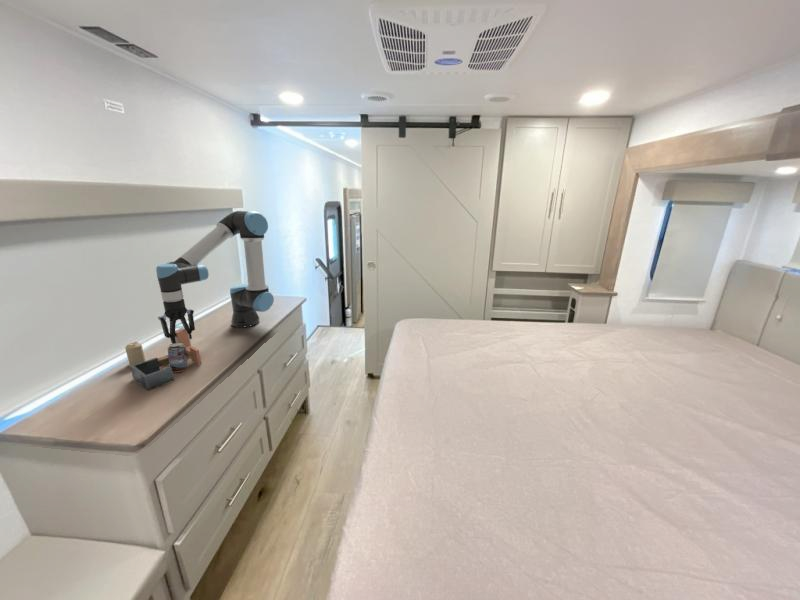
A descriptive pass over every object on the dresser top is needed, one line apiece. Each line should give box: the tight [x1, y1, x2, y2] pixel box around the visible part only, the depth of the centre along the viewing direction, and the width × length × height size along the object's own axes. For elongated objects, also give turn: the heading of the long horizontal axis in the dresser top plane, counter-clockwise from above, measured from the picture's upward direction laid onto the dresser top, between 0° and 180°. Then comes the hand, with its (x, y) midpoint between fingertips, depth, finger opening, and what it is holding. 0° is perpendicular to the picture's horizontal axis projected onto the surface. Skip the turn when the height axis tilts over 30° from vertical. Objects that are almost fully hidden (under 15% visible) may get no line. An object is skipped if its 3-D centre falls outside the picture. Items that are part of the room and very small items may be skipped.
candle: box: [125, 341, 147, 367], centre depth 136 cm, size 6×6×10 cm
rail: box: [157, 353, 191, 368], centre depth 140 cm, size 16×3×3 cm, turn 147°
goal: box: [129, 357, 175, 391], centre depth 125 cm, size 9×14×6 cm, turn 57°
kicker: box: [175, 328, 203, 366], centre depth 139 cm, size 4×16×12 cm, turn 57°
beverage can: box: [167, 343, 188, 373], centre depth 132 cm, size 6×7×12 cm
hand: (183, 347), depth 143 cm, fingers closed on kicker, 4 cm apart
